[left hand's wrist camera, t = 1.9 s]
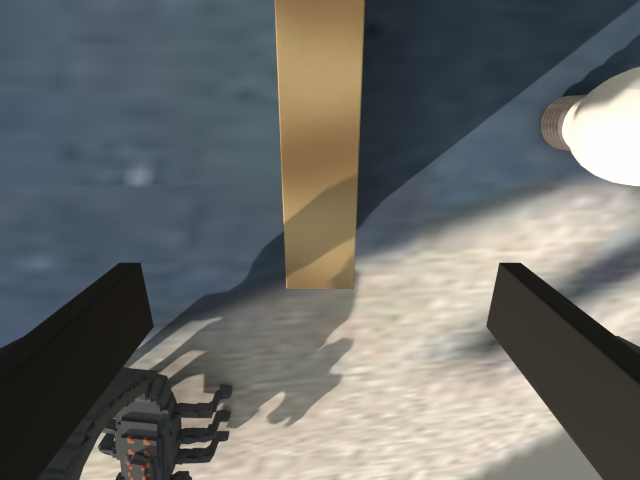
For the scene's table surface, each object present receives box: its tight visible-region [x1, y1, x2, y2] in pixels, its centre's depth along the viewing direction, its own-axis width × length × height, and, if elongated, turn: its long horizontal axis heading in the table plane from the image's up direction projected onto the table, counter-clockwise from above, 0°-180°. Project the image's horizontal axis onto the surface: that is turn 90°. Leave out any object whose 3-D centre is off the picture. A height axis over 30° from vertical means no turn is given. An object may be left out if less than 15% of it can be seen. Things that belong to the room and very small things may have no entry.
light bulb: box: [541, 67, 640, 186], centre depth 21 cm, size 7×7×11 cm
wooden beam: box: [275, 0, 365, 289], centre depth 20 cm, size 26×4×10 cm, turn 0°
